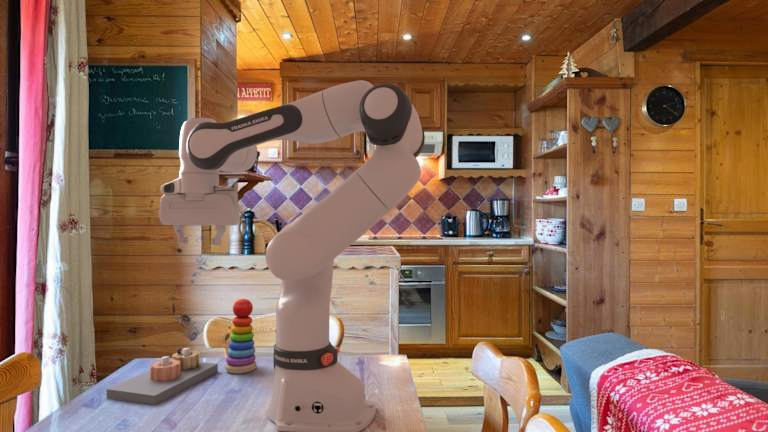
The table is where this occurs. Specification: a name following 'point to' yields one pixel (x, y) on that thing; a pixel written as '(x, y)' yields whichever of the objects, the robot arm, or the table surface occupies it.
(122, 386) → the gear board
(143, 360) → the table surface
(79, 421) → the table surface
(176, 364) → the loose gear
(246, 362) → the stacking toy
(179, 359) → the gear
